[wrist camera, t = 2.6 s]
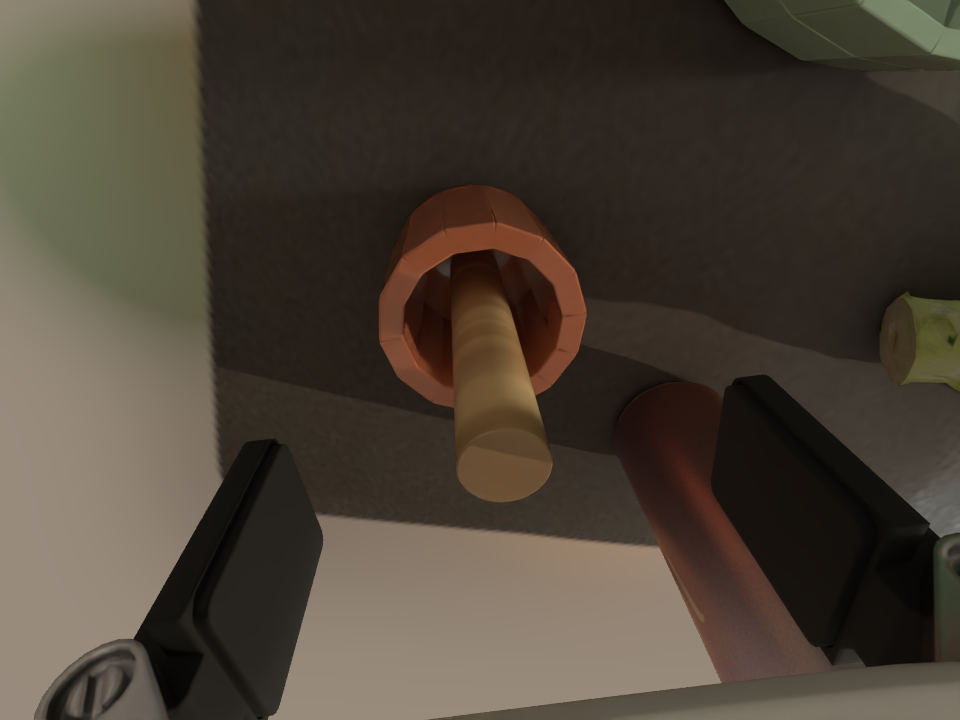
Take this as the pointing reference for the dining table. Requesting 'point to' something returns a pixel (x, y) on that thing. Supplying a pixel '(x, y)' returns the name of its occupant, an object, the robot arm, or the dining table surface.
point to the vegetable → (921, 341)
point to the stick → (492, 388)
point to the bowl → (860, 32)
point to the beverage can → (707, 537)
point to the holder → (525, 275)
